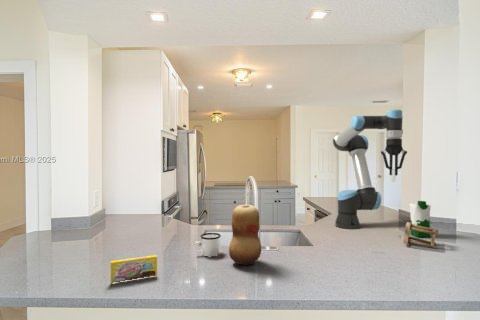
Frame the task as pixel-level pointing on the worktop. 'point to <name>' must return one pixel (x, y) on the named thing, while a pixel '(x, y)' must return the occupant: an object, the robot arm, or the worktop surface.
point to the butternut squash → (245, 235)
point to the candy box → (133, 268)
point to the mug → (210, 244)
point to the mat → (439, 247)
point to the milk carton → (420, 217)
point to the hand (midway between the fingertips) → (393, 181)
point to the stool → (420, 229)
